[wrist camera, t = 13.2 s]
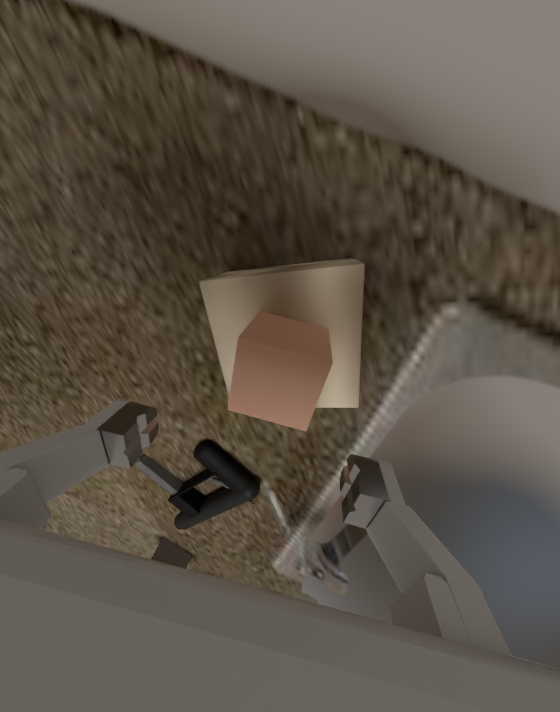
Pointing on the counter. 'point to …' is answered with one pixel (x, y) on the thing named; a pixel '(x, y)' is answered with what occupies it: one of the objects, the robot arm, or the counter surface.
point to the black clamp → (190, 499)
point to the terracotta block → (280, 370)
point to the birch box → (295, 314)
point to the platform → (171, 554)
